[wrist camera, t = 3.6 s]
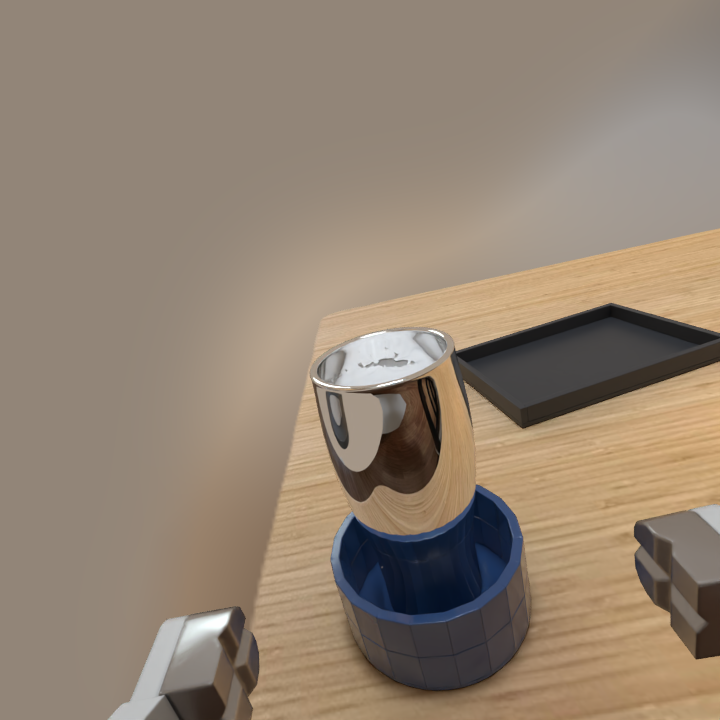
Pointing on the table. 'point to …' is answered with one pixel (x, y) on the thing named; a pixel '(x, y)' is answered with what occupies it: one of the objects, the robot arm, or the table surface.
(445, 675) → the bowl
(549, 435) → the table surface
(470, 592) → the silver goblet
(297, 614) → the table surface
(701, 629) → the robot arm
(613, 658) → the table surface
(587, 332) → the tray
